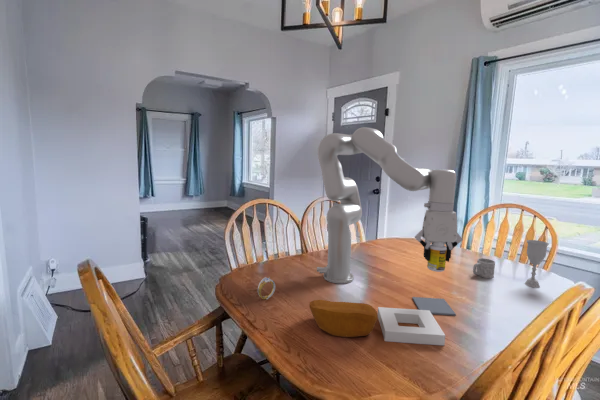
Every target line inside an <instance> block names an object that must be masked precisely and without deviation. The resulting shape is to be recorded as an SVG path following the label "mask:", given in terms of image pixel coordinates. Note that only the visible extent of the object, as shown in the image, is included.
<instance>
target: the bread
mask: <svg viewBox="0 0 600 400" xmlns="http://www.w3.org/2000/svg"><path fill="white" fill-rule="evenodd" d="M309 309H310V312H311V314H312V316H313V319H314V321H315V323H316V325H317V326H318V328H319V329H321V330H322V331H324V332H326V333H327V334H329V335H332V336H334V337H335V336H336V337H343V338H356V337H366V336H369V334H371V333H372V332H373V330H374V328H375V325H376V322H377V320H378V310H377V309H376V308H374V307H373V306H372V305H370V304H367V303H364V302H351V301H350V302H348V301H331V300H327V299H326V300H325V299H314V300H312V301H309Z"/></svg>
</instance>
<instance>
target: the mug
mask: <svg viewBox="0 0 600 400" xmlns="http://www.w3.org/2000/svg"><path fill="white" fill-rule="evenodd" d="M495 266H496V261H495V260H493V259H490V258H484V257H480V258H477V262H476V263H475V264H473V268H472V273H473V274H474V275H477V277H481V278H484V279H486V278H487V279H492V278H494V275H495Z"/></svg>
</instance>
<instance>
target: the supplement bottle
mask: <svg viewBox="0 0 600 400" xmlns="http://www.w3.org/2000/svg"><path fill="white" fill-rule="evenodd" d="M429 249H430V260H429V261H427V265H426V266H427V269H428V270H430V271H433V272H439V273H441V272H445V269H446V262H447V261H446V252H447V248H446V244H445V242H431V244H430V247H429Z"/></svg>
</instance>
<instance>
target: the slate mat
mask: <svg viewBox="0 0 600 400" xmlns="http://www.w3.org/2000/svg"><path fill="white" fill-rule="evenodd" d="M411 298H412V300H413V302H414V304H415V305H416V307H417V310H430V312H431V314H432V315H436V316H437V315H440V316H452V317H453V316H454V317H455V316H456V315H457V313H456V312H455V310H454V309H453V308H452V307H451V306H450V305H449V303H448V302H447V301H446V300H445V299H444V298H441V297H440V298H434V297H423V296H422V297H421V296H412V297H411Z"/></svg>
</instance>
